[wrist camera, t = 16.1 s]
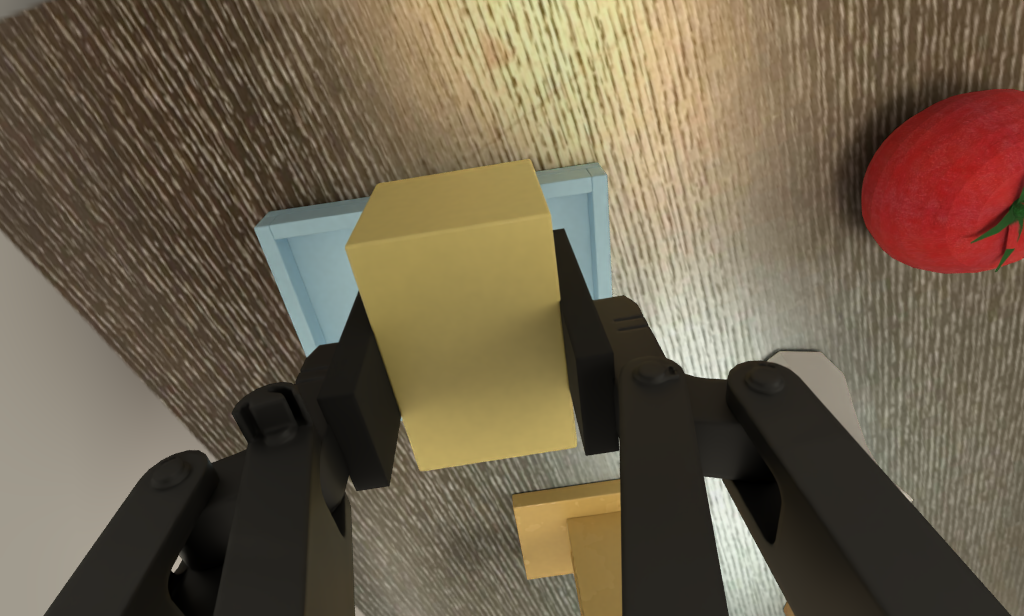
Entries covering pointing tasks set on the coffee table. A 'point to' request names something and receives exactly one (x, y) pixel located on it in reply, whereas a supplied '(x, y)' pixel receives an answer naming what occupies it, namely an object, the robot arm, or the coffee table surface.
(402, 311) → the butter
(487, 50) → the coffee table surface
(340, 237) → the butter dish
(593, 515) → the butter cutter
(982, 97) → the tomato
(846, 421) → the flask
